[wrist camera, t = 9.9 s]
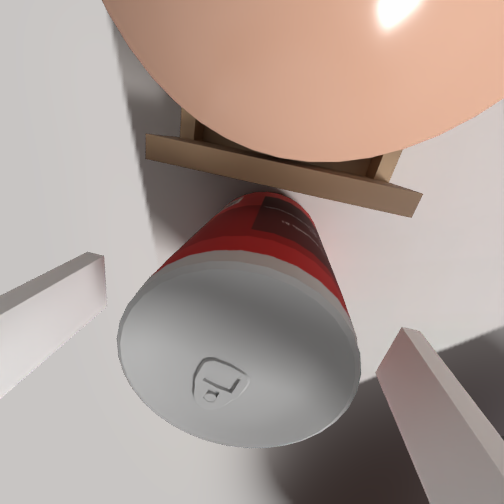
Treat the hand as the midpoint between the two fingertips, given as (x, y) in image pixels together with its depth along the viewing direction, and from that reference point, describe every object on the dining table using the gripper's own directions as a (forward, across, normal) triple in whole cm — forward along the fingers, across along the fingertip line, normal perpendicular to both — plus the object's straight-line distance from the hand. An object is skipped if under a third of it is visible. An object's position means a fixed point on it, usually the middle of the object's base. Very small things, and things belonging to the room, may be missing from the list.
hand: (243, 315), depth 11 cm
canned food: (+8, 0, 0) cm, 8 cm away
